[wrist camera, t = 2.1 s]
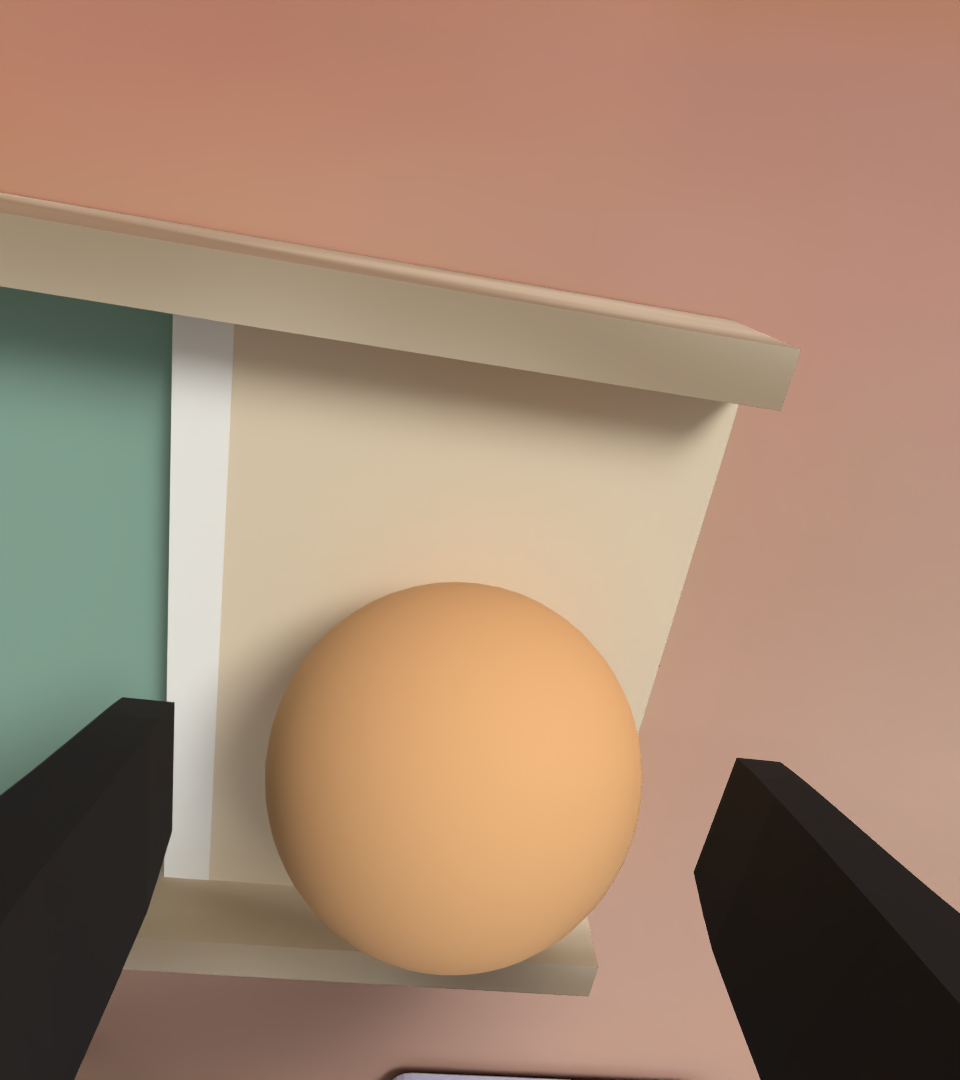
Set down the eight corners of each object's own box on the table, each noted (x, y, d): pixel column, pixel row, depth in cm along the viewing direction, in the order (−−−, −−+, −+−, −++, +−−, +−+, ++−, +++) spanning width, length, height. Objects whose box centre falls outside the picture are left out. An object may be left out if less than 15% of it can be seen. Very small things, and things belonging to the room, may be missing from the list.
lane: (566, 887, 17) (576, 936, 16) (-315, 821, 15) (-375, 871, 14) (730, 319, 12) (761, 332, 11) (-528, 99, 10) (-646, 89, 9)
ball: (564, 795, 14) (630, 1080, 10) (285, 770, 14) (215, 1061, 9) (631, 547, 12) (753, 756, 8) (309, 504, 12) (234, 705, 7)
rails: (566, 887, 17) (588, 996, 15) (-315, 821, 15) (-451, 936, 12) (730, 319, 12) (801, 350, 10) (-528, 99, 10) (-806, 74, 8)
